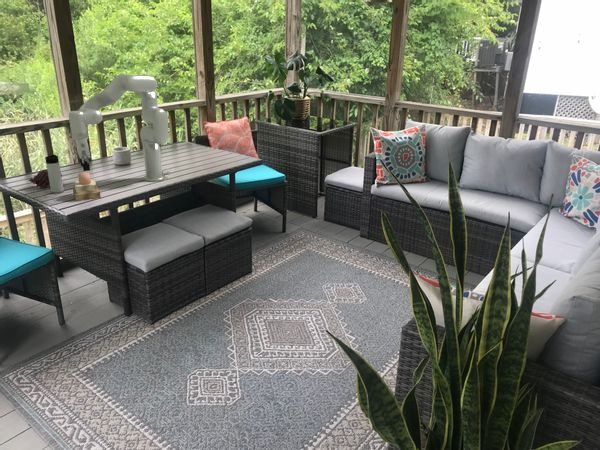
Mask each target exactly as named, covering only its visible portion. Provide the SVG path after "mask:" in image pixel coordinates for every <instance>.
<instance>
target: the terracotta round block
mask: <svg viewBox="0 0 600 450" xmlns="http://www.w3.org/2000/svg"><path fill="white" fill-rule="evenodd" d="M77 177H78V181H79V184H82V185H85V184H90V183H91V180H92V179H91V175H90V172H87V171H83V172H80V173H78V174H77Z"/></svg>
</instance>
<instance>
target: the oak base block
mask: <svg viewBox="0 0 600 450" xmlns="http://www.w3.org/2000/svg"><path fill="white" fill-rule="evenodd" d="M96 187H97V192H91V193H81V194H76V188H75V187H74V188H72V191H73V196H74V200H75V202H81V201H82V200H83V201H90V200H89V199H91V200H98V199H102V198H101V192H100V189H99V188H98V186H97V185H96ZM97 198H98V199H97Z"/></svg>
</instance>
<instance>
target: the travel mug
mask: <svg viewBox="0 0 600 450" xmlns="http://www.w3.org/2000/svg"><path fill="white" fill-rule="evenodd" d="M44 159H45V165H46V170H47V171H48V177H49V183H50V185H49V187H50V188H49V189H50V192H51V194H54V195H57V194H58V195H59V194H63V193H64V192H65V190H64V185H63V176H62V177H61V174H62V172H61V165H60V159H59V156H58V155H56V154H51V155H47V156H46V157H45V158H44Z"/></svg>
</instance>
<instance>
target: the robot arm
mask: <svg viewBox="0 0 600 450" xmlns="http://www.w3.org/2000/svg"><path fill="white" fill-rule="evenodd" d="M157 88H158V82H157V80H156V78H155V77H153V76H150V75H144V74H134V75H133V74H127V73H120V74H117V75H116V76H115V77H114V78H113V79H112V81H111V82H109V83H108V85H107V86H106V87H105V88H104V89H103V90H102V91H101V92H98V93H97V94H95V95H93V96H92V97H89V98H88V99H87V100H86V101H85V102H84V103H83V104H82V105H81V106H80V108H78V110H72V111H69V112H68V119H69V126H70V131H71V137H72V140H73V141H75V146H76V150H77V154H78V157H79V162H80V166H81V167H82V171H83V172H87V171H91V167H90V166H91V165H90V162H89V161H90V160H89V159H91V154H90V153H91V152H90V149H89V147H90V146H89V144H88V139H89V133H88V127H87V126H88V125H91V126H92V125H98V124H100V123H101V122H102V121H103V115H102V113H101V111H100V110H101V109H102V108H105V107H109V106H112V105H114V104H116V103H117V102H118V101H119V100H120V99H121V98H122V97H123V96H124V94H125V93H126V92H131V93H132V92H133V93H139V96H140V98H141V99H140V100H141V116H142V120H143V121H144V122H145V123H147V125H144V126H143V127H141V128H140V132H139V136H140V140H141V145H142V149H143V160H144V161H143V162H144V170H145V175H144V176H143V180H144V181H147V182H159V181H163V180H166V175H171V171H167V170H163V168H162V167H163V165H162V155H161V154H162V153H161V152H162V151H161V147H160V145H164V144H166V143H167V141H168V138H169V117H168V114H167V113H168V112H166V110H165V109H163V108H161V107H159V105H158V96H157V93H156V90H157ZM148 124H150V125H148Z"/></svg>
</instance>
